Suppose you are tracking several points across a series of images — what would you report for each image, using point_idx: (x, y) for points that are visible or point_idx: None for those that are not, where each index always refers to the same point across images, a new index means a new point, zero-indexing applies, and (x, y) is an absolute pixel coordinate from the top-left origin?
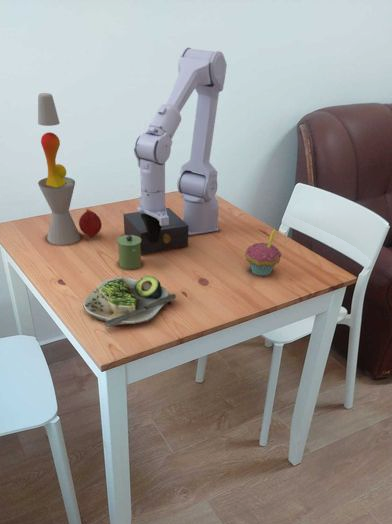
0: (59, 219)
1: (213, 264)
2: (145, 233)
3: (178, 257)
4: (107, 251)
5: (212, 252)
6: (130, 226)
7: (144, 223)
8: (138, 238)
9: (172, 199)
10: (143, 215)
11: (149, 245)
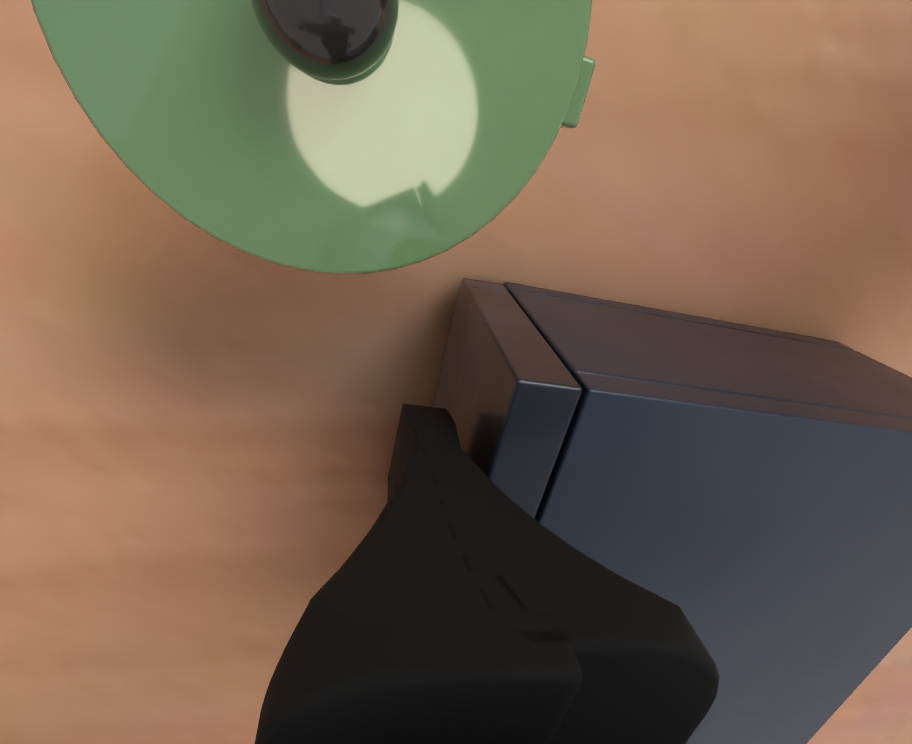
0: None
1: (63, 636)
2: (494, 434)
3: (275, 503)
4: (750, 16)
5: (244, 684)
6: (824, 394)
7: (550, 538)
8: (310, 230)
9: (895, 728)
10: (630, 690)
11: (453, 390)
